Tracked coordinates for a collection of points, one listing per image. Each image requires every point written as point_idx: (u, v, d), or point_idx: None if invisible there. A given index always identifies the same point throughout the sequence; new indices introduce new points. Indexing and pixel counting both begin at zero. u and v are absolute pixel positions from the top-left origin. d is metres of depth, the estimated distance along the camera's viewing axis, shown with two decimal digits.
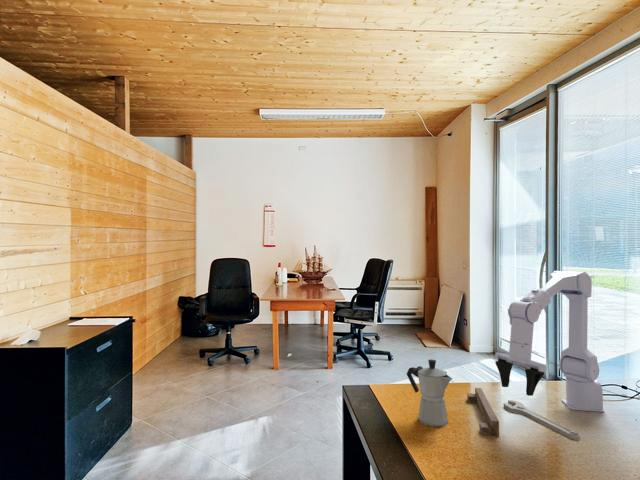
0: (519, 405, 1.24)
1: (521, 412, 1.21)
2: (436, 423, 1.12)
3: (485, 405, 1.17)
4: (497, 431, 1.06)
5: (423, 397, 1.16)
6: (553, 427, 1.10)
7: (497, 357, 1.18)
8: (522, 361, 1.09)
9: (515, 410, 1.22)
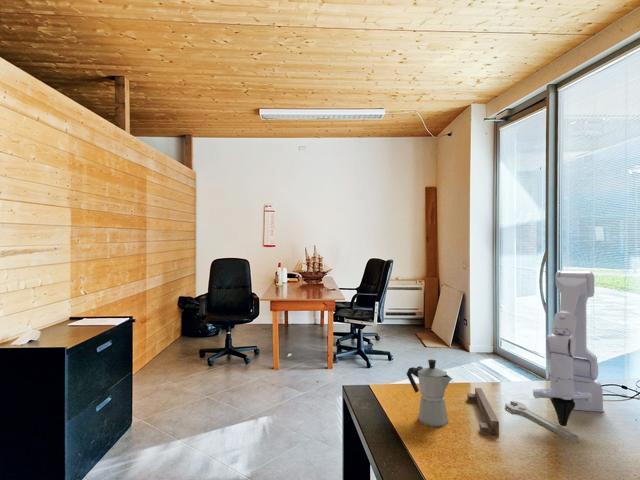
0: (521, 406, 1.23)
1: (522, 413, 1.20)
2: (436, 422, 1.12)
3: (485, 405, 1.17)
4: (497, 431, 1.06)
5: (423, 397, 1.16)
6: (553, 429, 1.09)
7: (538, 396, 1.12)
8: (574, 397, 1.08)
9: (516, 411, 1.21)
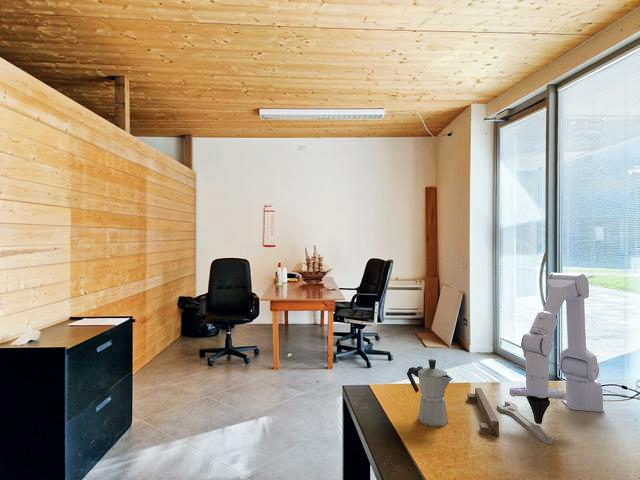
0: (512, 407, 1.23)
1: (510, 413, 1.20)
2: (436, 422, 1.12)
3: (485, 405, 1.17)
4: (497, 431, 1.06)
5: (423, 397, 1.16)
6: (530, 430, 1.09)
7: (514, 394, 1.13)
8: (549, 395, 1.10)
9: (504, 411, 1.21)
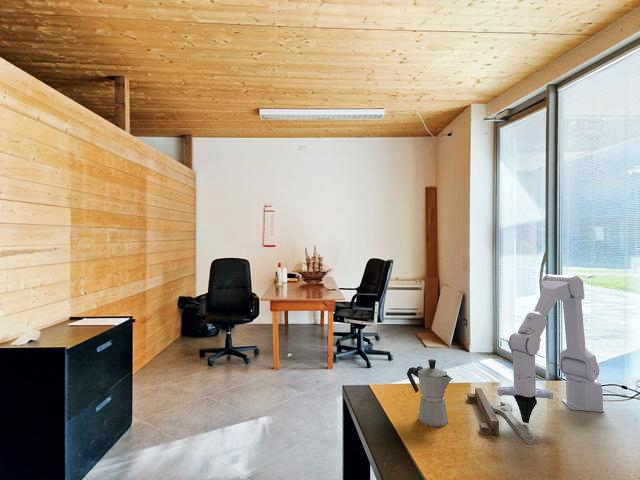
0: (506, 407, 1.23)
1: (501, 413, 1.20)
2: (436, 422, 1.12)
3: (485, 405, 1.17)
4: (497, 431, 1.06)
5: (423, 397, 1.16)
6: (516, 429, 1.09)
7: (501, 393, 1.14)
8: (536, 394, 1.11)
9: (497, 410, 1.21)
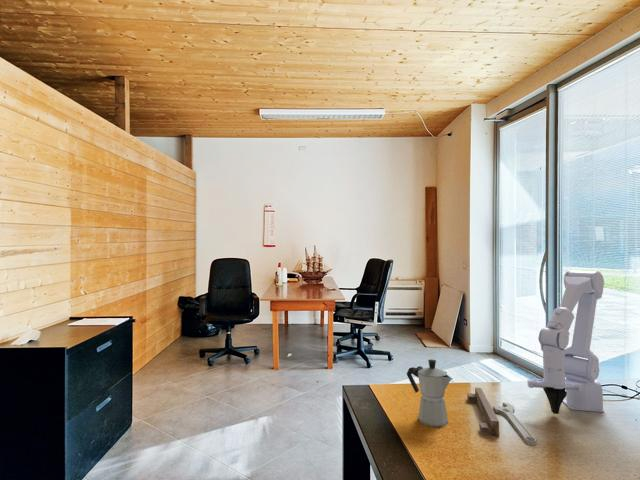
0: (508, 408, 1.22)
1: (503, 414, 1.19)
2: (436, 423, 1.12)
3: (485, 405, 1.17)
4: (497, 431, 1.06)
5: (423, 397, 1.16)
6: (517, 430, 1.08)
7: (532, 386, 1.19)
8: (566, 386, 1.16)
9: (499, 411, 1.21)
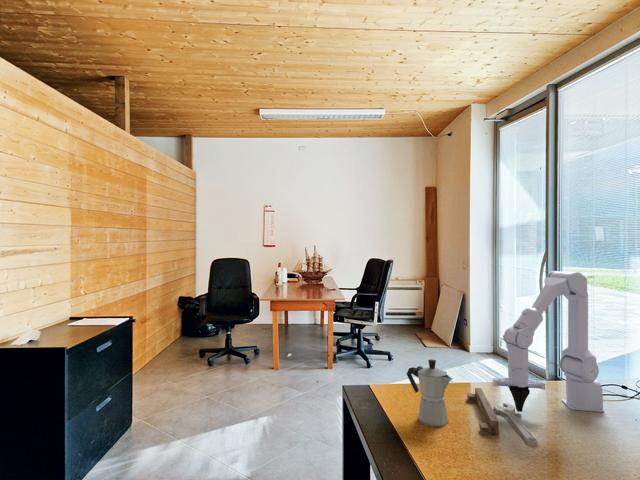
0: (509, 408, 1.22)
1: (504, 414, 1.19)
2: (436, 422, 1.12)
3: (485, 405, 1.17)
4: (497, 431, 1.06)
5: (423, 397, 1.16)
6: (519, 431, 1.08)
7: (496, 384, 1.22)
8: (529, 384, 1.18)
9: (499, 412, 1.20)
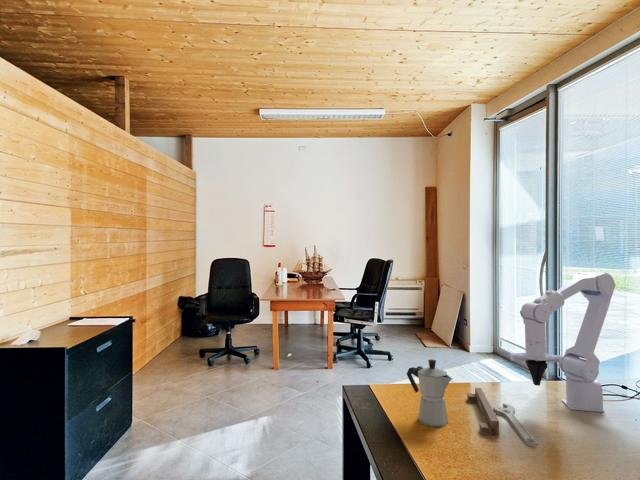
0: (508, 409, 1.21)
1: (504, 415, 1.19)
2: (436, 423, 1.12)
3: (485, 405, 1.17)
4: (497, 431, 1.06)
5: (423, 397, 1.16)
6: (518, 431, 1.08)
7: (514, 359, 1.23)
8: (547, 358, 1.20)
9: (499, 412, 1.20)
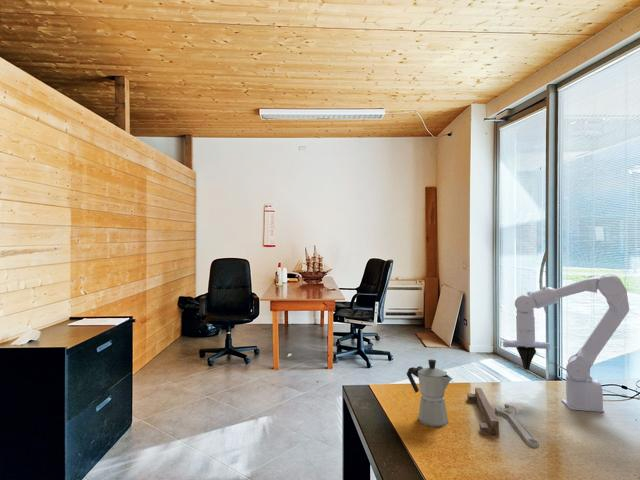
0: (510, 409, 1.21)
1: (505, 415, 1.18)
2: (436, 423, 1.12)
3: (485, 405, 1.17)
4: (497, 431, 1.06)
5: (423, 397, 1.16)
6: (520, 432, 1.07)
7: (506, 345, 1.36)
8: (535, 345, 1.33)
9: (500, 413, 1.20)
